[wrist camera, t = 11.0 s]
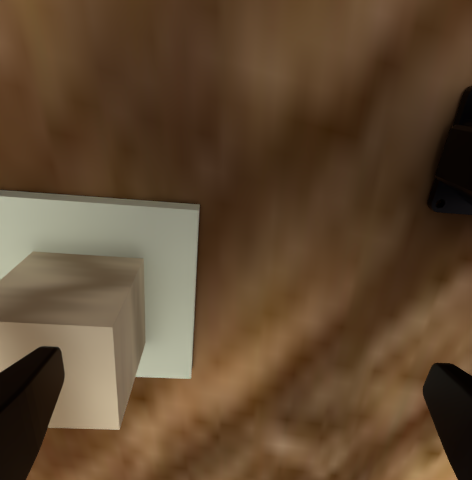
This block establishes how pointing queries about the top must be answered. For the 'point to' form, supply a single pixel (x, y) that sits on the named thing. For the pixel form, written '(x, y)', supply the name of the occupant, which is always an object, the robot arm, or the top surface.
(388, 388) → the top surface
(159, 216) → the sage board
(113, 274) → the birch cube
